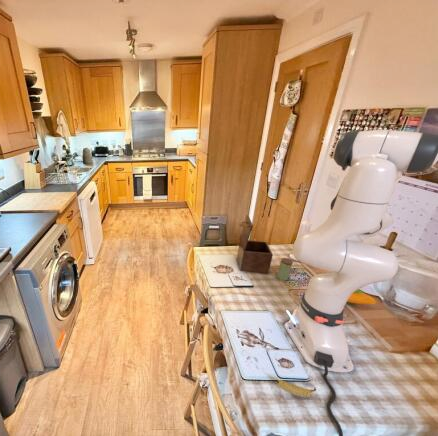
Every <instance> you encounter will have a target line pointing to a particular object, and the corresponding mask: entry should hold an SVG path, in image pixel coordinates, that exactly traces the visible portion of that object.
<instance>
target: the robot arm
mask: <svg viewBox="0 0 438 436" xmlns="http://www.w3.org/2000/svg"><path fill="white" fill-rule="evenodd" d="M332 152H333V153H332V154H333V161H334V162H335V163H336V165H337V166H339V167H341V170H342V171H343V172H345V171H346V170H347V168H348V167H350V168H349V169H348V171H347V172H346V175H345V176H344V178H343V180H342V182H341V184H340V187H339V189H338V190H337V193H336V195H335V197H334V198H333V199H332V201H331V202H330V210H331V211H330V214H329V216H328V217H327V219H326V220H325V221H324V222H323V223H322V224H321V225H320V226H318V227H317V228H315V229H313V230H310V232H309V233H305V234H303V235H301V236H299V237H298V236H297V237H298V238H296V239H295V241H294V242H293V245H292V254H293V253H294V256H295V258H296V259H297V260H298V261H297V262H300V263H302V264H305V265H307V266H309V267H311V268H317V269H320V270H324V271H328V272H322V273H318V274H315V275H313V276H312V277H311V278H310V279H309V281H308V284H307V287H306V289H305V292H304V293H303V294H302V296H301V298H300V302H299V305H298V307H296V308H295V309H294V310H293V312H292V313H290V311H289V310H286V313H287V314H288V316H289V317H290V318H289V321H286V322H285V323H284V325H283V327H284V329H285V331H286V332H287V334H288V335H289V338H290V339H291V340H292V342H293V343H294V345H295V347H296V348H297V350H298V351H299V352H300V355H301V356H302V358H303V359H304V361H305V362H306V363H308V364H309V365H311V366H313V367H314V368H315V367H316V368H318V369H321V370H324V373H323V379H324V382H325V384H326V385H327V387H328V388H329V389H330V390H331V393H332V396H331V398H330V399H329V400H328V401H327V404H326V409H327V412H328V415H329V416H330V418H331V419H332V421H333V422H334V424H335V426H336V428H337V431H338V436H344V433H343V429H342V426H341V424H340V422H339V421H338V419H337V418H336V417H335V415H334V413H333V412H332V409H331V408H332V407H331V406H332V404H333V403H334V402H335V400H336V398H337V393H336V391H335V388H334V387H333V386H332V385H331V383H330V381H329V379H328V374H329V372H334V373H342V374H343V373H344V374H345V373H351V372H352V371H354V369H355V366H354V363H353V361H352V358H351V356H350V352H349V351H350V349H349V345H351V344H352V340H351V338H350V336H346V333H345V329H346V326H345V325H344V323H346V322H345V321H344V317H345V313H344V311H345V310H344V308H345V306H346V305H347V304H346V303H348V302H347V300H348V299H349V297H350V296H351V294H352V293H353V292H355V291H356V290H360V289H361V288H363V287H366V286H368V285H369V286H370V285H372V284H376V283H382V282H383V283H384V282H387V281H389V280H391V279H392V278H393V277H394V276H395V275H396V274H397V272H398V271H399V260H398V258H397V256H396V255H395V253H394V252H393V251H392V250H389V249H387V248H384V247H381V246H378V245H375V244H372V243H366V242H365V241H366V240H367V239H369V238H372V237H374V236H376V235H378V234H380V233H382V232H384V231H385V230H386V229H388V228H389V227H391V226H392V224H394V220H393V216H391V215H390V213H389V212H388V211H386V210H387V208H388V206H389V203H390V200H391V198H392V197H393V194H394V193H393V192H394V189H395V185H396V182H397V181H398V180H399V178H400V176H401V174H402V173H406V174H420V173H424V172H426V171H428V170H430V169H431V167H433V166H434V165H435V164H437V163H438V133H434V132H428V131H423V132H417V131H407V130H391V129H372V130H371V129H370V130H360V129H358V130H351V131H350V130H349V131H346V132H344V133H343V134H342V135H340V137H339V138H338V140H337V141H336V142H335V144H334V147H333V151H332Z"/></svg>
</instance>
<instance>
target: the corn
mask: <svg viewBox="0 0 438 436" xmlns="http://www.w3.org/2000/svg"><path fill="white" fill-rule="evenodd" d="M377 303H378V301H377V300H376V299H375V298H373V297H372V296H370V295H369V294H365V293H363V291H362V290H360V289H358V290H356V291H355V292H353V293H352V294H351V296H350V297H349V299H348V300H347V302H346V304H345V305H352V306H356V305H375V304H377Z"/></svg>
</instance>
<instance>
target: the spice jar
mask: <svg viewBox="0 0 438 436" xmlns="http://www.w3.org/2000/svg"><path fill="white" fill-rule="evenodd" d="M293 263H294V260H293V259H291V258H288V257H282V258H281V259H280V262H279V266H278V270H277V273H276V278H277V279H279V281H288V280H289V277H290V275H291V274H290V273H291V271H292V267H293Z"/></svg>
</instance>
